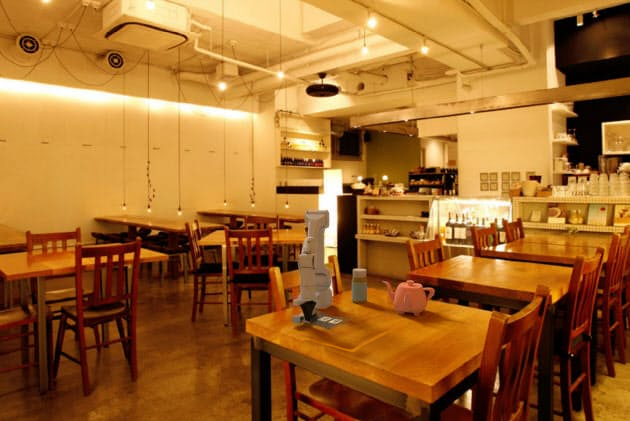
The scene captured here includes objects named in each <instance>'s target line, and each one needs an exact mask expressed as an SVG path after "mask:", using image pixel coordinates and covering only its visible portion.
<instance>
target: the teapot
mask: <svg viewBox="0 0 630 421" xmlns="http://www.w3.org/2000/svg"><path fill="white" fill-rule="evenodd" d="M381 282H382V283H383V284H384V285H385V286H386V289H387V294H388V297H389V299H390V300H391V301H392V303H393V306H394V309H395V310H396V311H398V312H397V314H398V315H405V313H413V316H415V317H420V316H421V313H422V312H424V311H425V309H426V308H427V306H428V301H430V300H431V299H432V297H433V296H434V295H435V292H436V290H435V289H434V288H433V287H424V286H423V285H422V284H421V283H417V282H415V281H414V280H411V279H409V280H406V282H401V283H399V284H398V286H397V288H396V290H395V292H394V291H393V289H392V286H391V284H390V282H389V281H384V280H381ZM426 291H428V292H429V294H428V296H427V294H426Z"/></svg>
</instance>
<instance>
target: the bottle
mask: <svg viewBox="0 0 630 421" xmlns="http://www.w3.org/2000/svg"><path fill="white" fill-rule="evenodd" d="M351 301H352V303H353V304H358V303H360V304H361V303H362V304H366V303H367V302H368V278H367V269H365V268H358V267H357V268H353V269H352V279H351Z"/></svg>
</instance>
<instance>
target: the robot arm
mask: <svg viewBox="0 0 630 421" xmlns="http://www.w3.org/2000/svg"><path fill="white" fill-rule="evenodd" d="M303 217H304V223H305V226H306V227H307V237H306V238H305V239H304V240H303V243H302V248H301V253H300V254H299V255H298V257H297V266H298V273H299V295H298V296H297V298H296V299H293V301H292V305H293V307H294V306H295V307H300V309H301V312H303V314H304V318H305V321H310V320H311V316H312V313H313V310H314V308H315V307H316V308H317V310H325V309H327V308H328V307H331V306H333V292H332V289H331V286H332V272H331V269H330V268H329V267H328V266H326V265H325V232H326V229H328V228H330V210H328V209H306V210H305V212H304V216H303Z"/></svg>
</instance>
